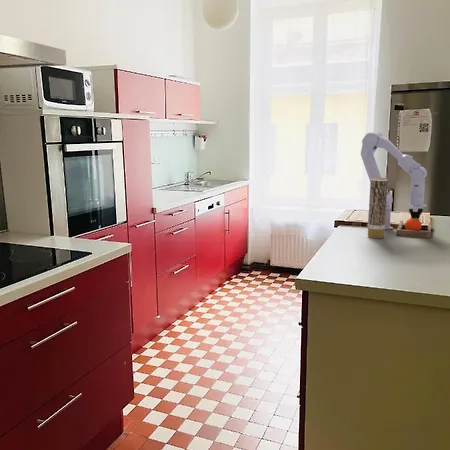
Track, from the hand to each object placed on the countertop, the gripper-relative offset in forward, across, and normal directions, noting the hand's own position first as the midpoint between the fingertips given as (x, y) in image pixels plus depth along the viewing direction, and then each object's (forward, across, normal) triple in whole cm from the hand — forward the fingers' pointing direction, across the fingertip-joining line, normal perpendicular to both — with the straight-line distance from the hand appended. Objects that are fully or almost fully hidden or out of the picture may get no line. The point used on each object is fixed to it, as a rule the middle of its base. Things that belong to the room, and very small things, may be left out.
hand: (414, 224), depth 211 cm
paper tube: (+3, -17, +14) cm, 23 cm away
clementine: (+3, -4, 0) cm, 5 cm away
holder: (+3, 0, 0) cm, 3 cm away
